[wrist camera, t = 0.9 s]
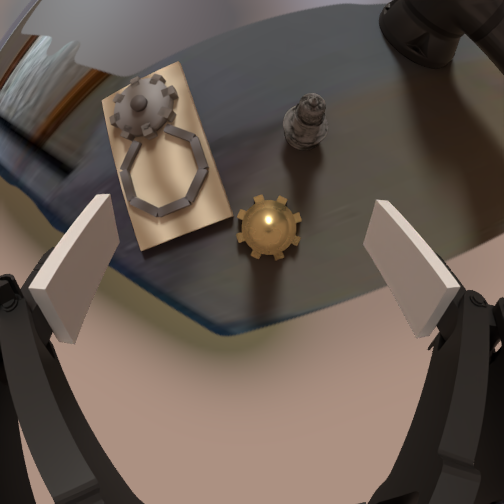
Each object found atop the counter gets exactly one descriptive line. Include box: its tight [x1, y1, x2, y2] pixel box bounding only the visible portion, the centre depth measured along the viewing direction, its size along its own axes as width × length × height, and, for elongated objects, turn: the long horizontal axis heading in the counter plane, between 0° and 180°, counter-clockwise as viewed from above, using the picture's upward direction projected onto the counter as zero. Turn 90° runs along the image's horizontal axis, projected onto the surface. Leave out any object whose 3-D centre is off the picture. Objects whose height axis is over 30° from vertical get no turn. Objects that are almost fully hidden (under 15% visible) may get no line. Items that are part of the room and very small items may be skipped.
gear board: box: [102, 61, 234, 251], centre depth 37 cm, size 14×26×4 cm, turn 19°
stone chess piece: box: [283, 93, 328, 150], centre depth 31 cm, size 6×6×12 cm
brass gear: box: [236, 195, 302, 260], centre depth 33 cm, size 9×9×12 cm
